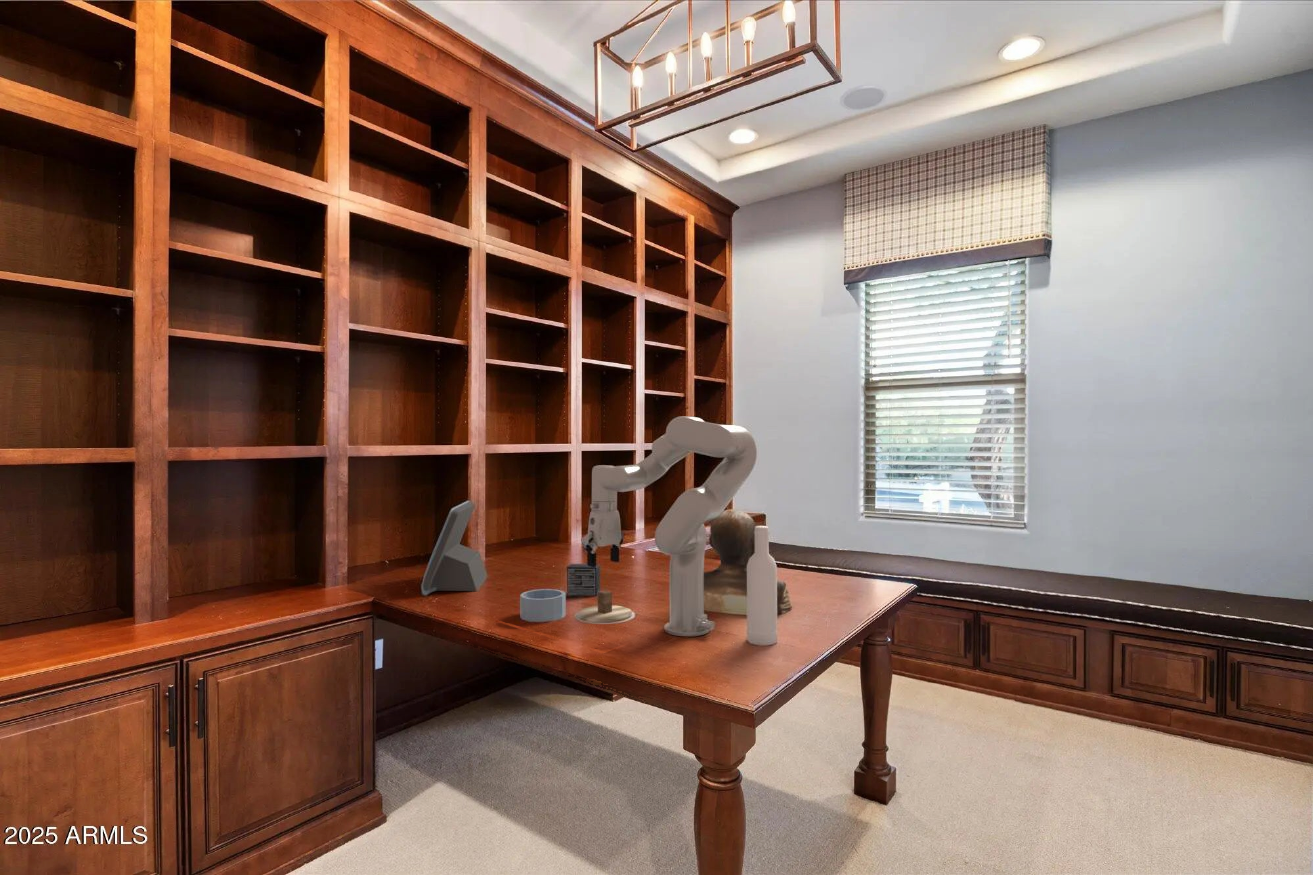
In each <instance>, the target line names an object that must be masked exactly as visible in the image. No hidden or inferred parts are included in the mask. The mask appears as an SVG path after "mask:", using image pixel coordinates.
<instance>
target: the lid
mask: <svg viewBox="0 0 1313 875" xmlns="http://www.w3.org/2000/svg"><path fill="white" fill-rule="evenodd" d="M632 612H633V611H632V609H630V608H628V607H625V606H622V605H615V604H614V605H613V591H610V590H600V592H598V596H597V605H593V606H587V607H584V608H581V609H579V610H578V611H577V613H578V618H579V619H581V620H583V621H587V622H594V623H611V622H618V621H623V620H626V619H628V618H630V617H631V616H632Z"/></svg>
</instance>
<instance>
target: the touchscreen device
mask: <svg viewBox="0 0 1313 875" xmlns="http://www.w3.org/2000/svg"><path fill="white" fill-rule="evenodd" d="M475 507H476V503H475V502H473V501H471V500H466V501H464V502H462V503H460V504H458V505H456V506H453V507H452V508H451V509H450V510H449V512H448V515H447V516H446V519H445V522H444V524H443V526H442V529H441V531H440V534H439V536H438V539H437V541H436V543H435V544H434V548H433V550H432V553H431V555H430V558H429V561H428V563H427V566H426V569H425V572H424V574H423V579H422V583H421V586H420V587H421V594H422V595H423V596H425V597H426V596H427V595H429V594H431V593H433V592H436V591H439V592H440V591H442V592H445V591H446V592H478V591H479V590H480V588H481V587H482V586H483V584H484V583H485V581H486V580H487V579H488V574H487V570H486V568H485V565H484V562H483V558H482V556H481V552H480V551H478V550H475V549H473V548H470V547H468V546H465V545H462V544H461V541H462V540H463V539H462V538H463V537H464V536H463V535H464V533H465V531H466V528H467V526H468V524H469V521H470V519H471V516H472V514H473V511H474V509H475Z"/></svg>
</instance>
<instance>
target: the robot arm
mask: <svg viewBox="0 0 1313 875" xmlns="http://www.w3.org/2000/svg"><path fill="white" fill-rule="evenodd" d="M691 453H696V454H699V455H705V456H709V457H713V458H723V459H722V461H721V462H720V463H719V464H718V465H717V466H716V467H715V468H714V469H713V470H712V472H711V473H710V475H709V476H708V478H707V479H706V480H705V482H704V483H703V484H702V485H701V486H699V487H694V488H689V489H688V490H685V491H684V492H683V493H681V494H680V495H678V497H677V499H676V500H675V501H674V503H673V504H672V505H671V507H670V508H669V509H668V510H667V512H666V514H664V517H662V519H661V521H660V522H659V524H658V525H657V527H656V528H655V532H654V543H655V546H656V548H657V550H658V551H659V552H661V553H662V554H664V555H667V556H670V561H669V622H666V623H665V624H664V626H663V627H664V632H665V633H667V634H668V635H672V636H676V637H677V636H678V637H699V636H703V635H706V634H708V633H709V632H710V631H713V630H714V627H715V625H716V623H715V621H714V620H713V621H712V620H708V614H706V613H705V610H704V572H705V556H706V555H705V554H706V553H705V552H706V545H707V539H708V538H707V529H706V526H705V524H706V523H711V522H712V521H713V520H715V519H717V518H718V517H719V516H720V515H721V514H722V512H723V511H725V509H726V508H727V506H728V505H729V504H730V502H731V501H732V500H733V498H734V497H735V496H736V494H737V493H738V491H739V490H740V489H741V487H742V486H743V485H744V484H745V482H746V481H747V479H748V478H749V476H750V475H751V473H752V472H753V469H754V468H755V465H756V462H757V457H758V456H757V455H758V452H757V445H756V441H755V439H754V437H753V435H752V433H750V431H748V429H746V428H744V427H742V426H739V425H734V424H718V423H713V422H709V421H705V420H703V419H702V418H700V417H696V416H683V415H682V416H677V417H675V418H673V419H672V420H670V421H669V423H668V424H667V426H666V430H665V433H664V434H663V435H662V436H659V437H658V438H657V439H655V440H654V441H653V442H652V444H651V453H650V454H649V455H648V456H647V457H645V458H644V459H642V460H641V461H639V462H637V463H636V464H628V465H616V466H614V465H605V464H602V465H598V464H597V465H595V466H593V467H592V469H591V504H590V506H589V507H590V509H591V511H590V512H589V513H590V514H589V517H588V518H589V519H588V525H587V526H588V527H587V534H585V535H584V536H583V537H582V538H581V540H580V542H581V544H582V548H583V549H584V550H585V553H587V556H586V558H587V559H586V560H587V562H586V564H587V565H588V566H591V567H596V564H597V552H596V550H597V549H598V547H606V546H611V547H610V554H609V556H610V558H609V560H610V561H611V562H613V563H619V562H620V549H621V548H622V544H623V543H624V538H625V535H626V533H625V532H623V531H622V530H621V529H622V528H621V526H622V525H621V518H620V512H619V510H618V492H620V493H624V492H625V493H626V492H630V491H631V492H632V491H639V490H642V489H645V488H646V487H648V486H650V485H651V484H652V483H654V482H655V481H657V480H659V479H660V478H662V477H663V476H664V475H665V474H666V473H667V472H668V471H669V469H670V468H671V467H672V466H674V465H675V464H676V463H678V462H679V461H681V460H682V459H684V458H686V457H687V456H689V454H691Z"/></svg>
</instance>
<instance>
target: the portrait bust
mask: <svg viewBox="0 0 1313 875" xmlns="http://www.w3.org/2000/svg"><path fill="white" fill-rule="evenodd" d="M755 527H756V522H755V521H754V519H753V518H752V517H751V516H750V515H749V514H748V513H747V512H745V511H742V510H739V509H735V508H731V509H730V508H729V509H726V510H725V509H724V511H723V512H722V514H721V515H720V516H719V517H718V518H717V519H715V520H713V521H710V526H709V531H710V535H709V537H708V538H709V540H708V541H709V545H710V547H711V548H712V549H713V550H714V551H715V552H716V553H717V554H718V557H719V558H720V559H719V560H720V561H719V562H720V565H718V567H717V568H715V569H713V570H710V571H704V612H705V611H706V612H713V613H723V614H731V615H744V616H747V564H748V561H749V558H750V557H751V556H752V555H753V554H754V553H755V534H754V531H755ZM791 608H793V604H792V600H791V596H790V593H789V591H788V586H787V583H786V582H784V581H778V580H777V614H779V615H782V613H783V614H785V613H784V612H786V613H788V612H789V611H791V610H792V609H791ZM790 609H791V610H790ZM788 610H789V611H788ZM787 611H788V612H787Z"/></svg>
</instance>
